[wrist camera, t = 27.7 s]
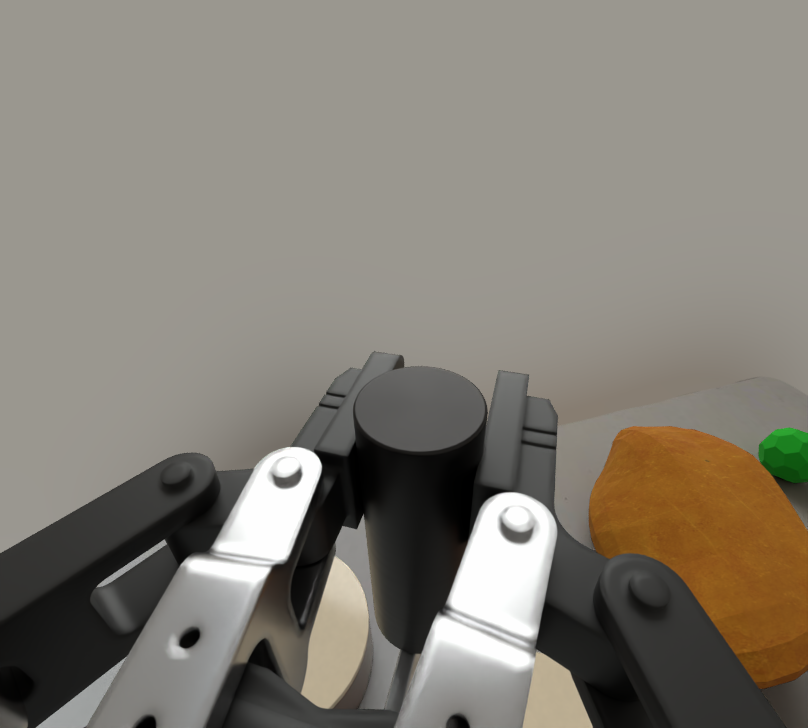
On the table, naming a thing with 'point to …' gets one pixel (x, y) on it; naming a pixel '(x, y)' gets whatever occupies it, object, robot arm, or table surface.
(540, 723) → the cake slice
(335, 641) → the cake
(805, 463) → the polyhedron
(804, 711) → the table surface
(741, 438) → the table surface
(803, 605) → the bread
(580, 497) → the table surface
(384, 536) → the knife
